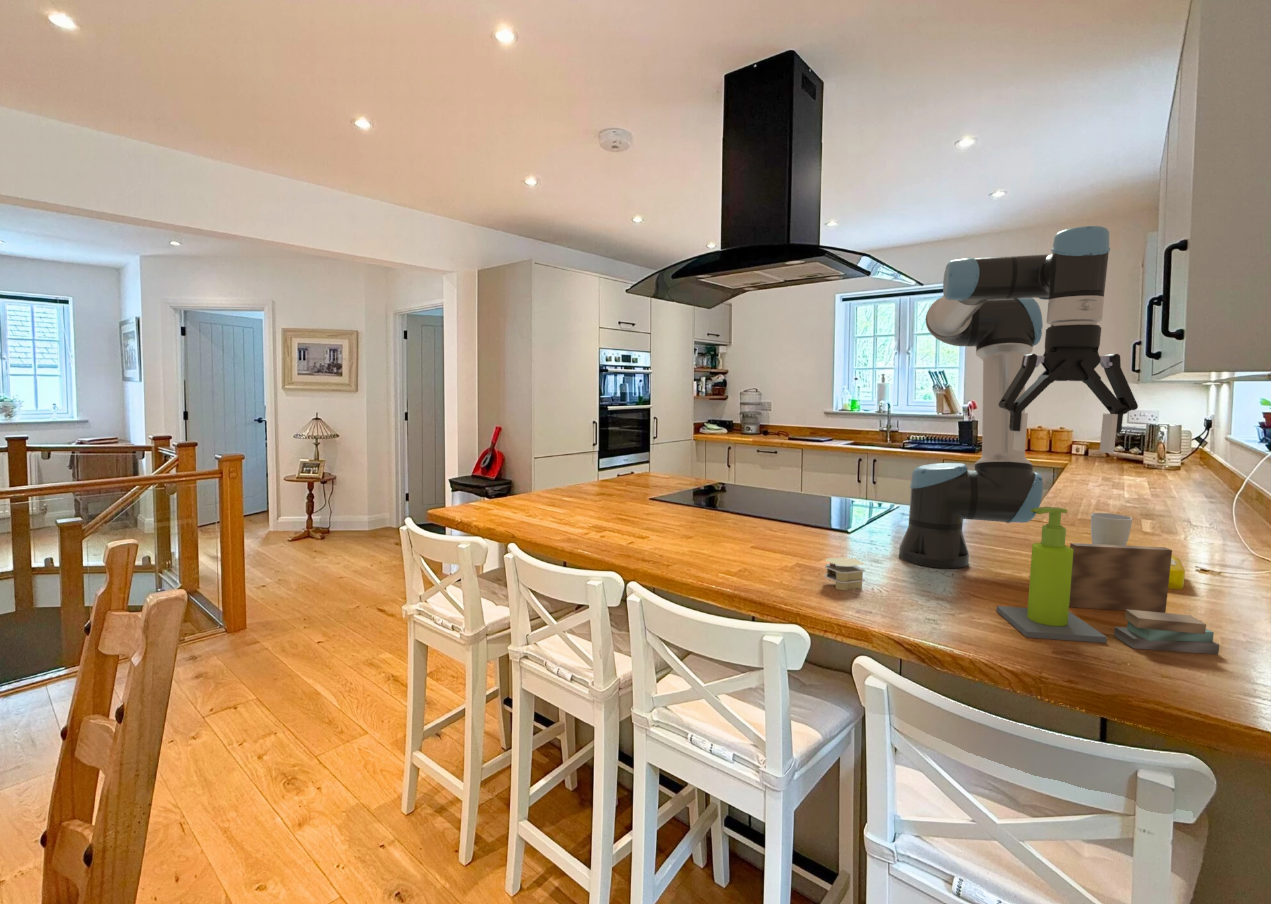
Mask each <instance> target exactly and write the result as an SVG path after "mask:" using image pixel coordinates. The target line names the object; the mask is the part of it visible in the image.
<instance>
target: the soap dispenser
mask: <svg viewBox="0 0 1271 904" xmlns="http://www.w3.org/2000/svg"><path fill="white" fill-rule="evenodd" d="M1030 511H1031V512H1033V513H1036V515H1041V514H1048V522H1047V523H1046V524H1043V525H1042V529H1041V538H1040V539H1041V542H1034V543H1032V545H1031V561H1030V573H1029V574H1030V575H1029V587H1028V600H1027V608H1028V612H1027V617H1028V618H1029V619H1030V620H1032V621H1034V622H1037V623H1040V624H1044V625H1049V626H1065V625H1067V624H1068V613H1069V612H1070V606H1069V601H1070V588H1071V576H1072V563H1073V551H1074V550H1073V549H1072V548H1070V546H1067V545H1066V536H1067V534H1066V533H1067V528H1066V527H1064V526H1063V525H1062V524H1061V523H1062V514H1067V513H1068V509H1066V508H1062V507H1055V506H1039V507H1038V508H1034V509H1031V510H1030Z"/></svg>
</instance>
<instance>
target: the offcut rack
mask: <svg viewBox="0 0 1271 904" xmlns="http://www.w3.org/2000/svg"><path fill="white" fill-rule="evenodd" d="M1069 545H1070V546H1069V547H1070V548H1072V549H1073V550H1074V551H1073V563H1072V576H1071V588H1070V601H1069V608H1077V609H1081V608H1082V609H1095V610H1096V609H1098V610H1113V611H1125V612H1124V619H1125V620H1126V621H1127V623H1126V626H1125V627H1124V626H1114V630H1113V631H1114V632H1113V637H1115V638H1117V639H1118V640H1120V641H1121V642H1123V643H1125V644H1126V645H1127V646H1128V647H1130V648H1132V649H1138V650H1150V651H1151V650H1152V651H1153V650H1154V651H1166V652H1167V651H1168V652H1179V653H1180V652H1181V653H1191V654H1192V653H1194V654H1208V655H1219V654H1220V653H1219V651H1220V644H1219V643H1217V642H1215V641H1214V631H1212V630H1210V629H1207V624H1206V623H1204V622H1203V621H1201V620H1199V619H1198V618H1196V617H1194V616H1193V615H1191V614H1179V613H1173V612H1172V613H1171V612H1170V613H1169V612H1166V610H1167V602H1168V593H1169V591H1168V590H1169V588H1168V584H1169V575H1170V566H1171V557H1172V556H1173V555H1172V554H1173V550H1172V549H1170V548H1169V547H1168V548H1167V547H1163V546H1145V545H1144V546H1143V545H1142V546H1141V545H1126V546H1125V545H1103V544H1092V543H1081V542H1077V543H1076V542H1070V543H1069Z"/></svg>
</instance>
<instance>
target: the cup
mask: <svg viewBox="0 0 1271 904" xmlns="http://www.w3.org/2000/svg"><path fill="white" fill-rule="evenodd" d="M1132 523H1133V517H1131V516H1127V515H1122V514H1119V513H1118V514H1117V513H1107V512H1092V513H1090V535H1091V544H1103V545H1125V546H1127V544H1128V541H1129V537H1130V534H1131V528H1132Z"/></svg>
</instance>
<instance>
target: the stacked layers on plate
mask: <svg viewBox="0 0 1271 904" xmlns="http://www.w3.org/2000/svg"><path fill="white" fill-rule="evenodd" d="M825 561H826V562H828V563H827V564H826V565H825V566H824V567H825V569H826V573H825V575H824V578H825V579H827V580H832V581H833V582H835V589H837V590H840V591H849V589H850V590H851V589H863V582H865V578H863V573H864V572H866V569H864V568H862V567H860V566H861V565H866V563H864V562H863V561H861V560H858V559H857V558H847V557H846V558H841V557H840V558H839V557H827V558H826V559H825Z"/></svg>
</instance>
